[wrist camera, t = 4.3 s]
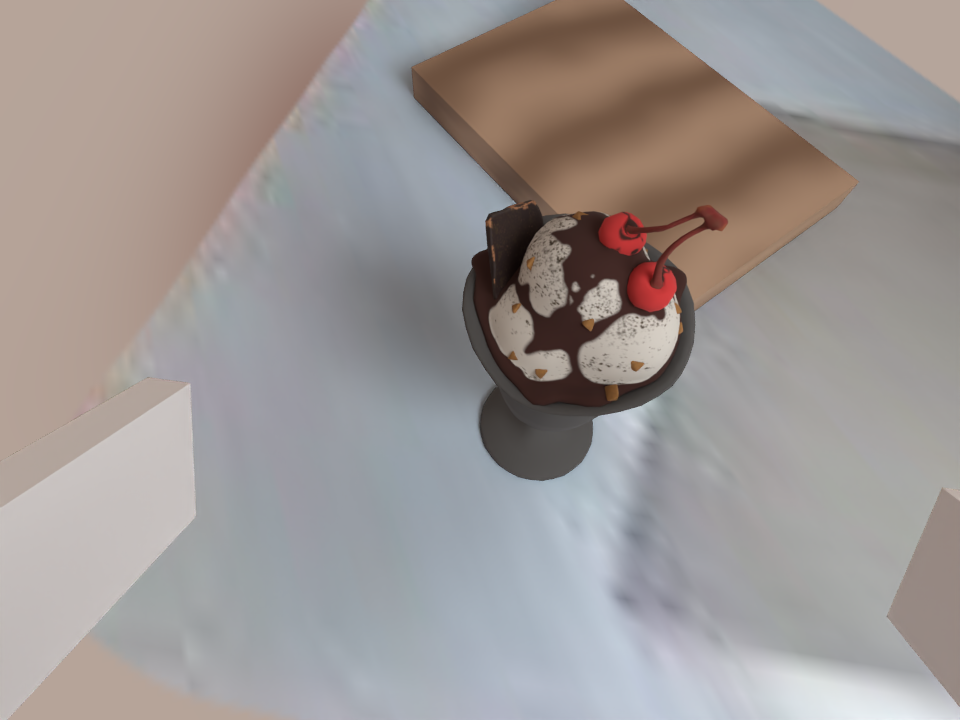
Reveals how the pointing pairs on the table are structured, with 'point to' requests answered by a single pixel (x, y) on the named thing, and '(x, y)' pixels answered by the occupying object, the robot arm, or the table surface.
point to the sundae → (573, 328)
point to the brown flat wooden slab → (630, 135)
